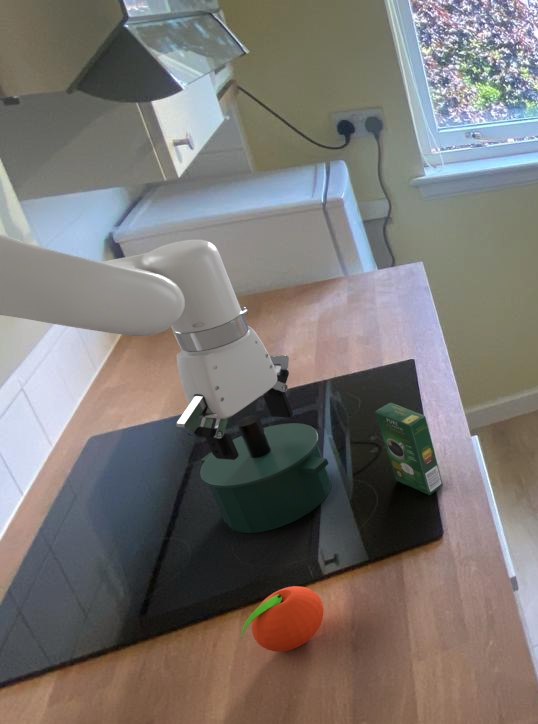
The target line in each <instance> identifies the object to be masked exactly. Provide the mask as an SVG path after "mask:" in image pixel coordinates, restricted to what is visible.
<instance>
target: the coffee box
mask: <svg viewBox="0 0 538 724" xmlns="http://www.w3.org/2000/svg"><path fill="white" fill-rule="evenodd" d="M374 414H375V417H376V420H377V423H378V426H379V430H380V433H381V436H382V439H383V442H384V446H385V449H386V452H387V456H388V459H389V462H390V466H391V468H392V472H393V475H394V479H395V481H396V482H399V483H401V484H402V485H405V486H407V487H410V488H411V489H413V490H416V491H419V492H421V493H423V494H426V495H428V496H431V495H432V494H434V493H435V492H436V491H438V490H439V489H441V488H442V487H443V486H444V484H443V480H442V476H441V472H440V468H439V464H438V460H437V455H436V452H435V448H434V444H433V439H432V437H431V433H430V432H431V431H430V429H429V425H428V421H427V417H426V415H424V414H421V413H418V412H416V411H413V410H411V409H408V408H405V407H403V406H400V405H398V404H395V403H393V402H389V403H387V404H385V405H383V406H381V407H380V408H378V409H377V410H375V412H374Z"/></svg>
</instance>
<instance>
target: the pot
mask: <svg viewBox="0 0 538 724" xmlns="http://www.w3.org/2000/svg"><path fill="white" fill-rule="evenodd" d="M211 454H212V451H211V452H209V453H207V454H206V455H205V456H204V457H202V458H201V459H200V462H201V464H202V465H203V463H204V462H205V461H206V459H207V458H208V457H209V456H210V455H211ZM328 465H329V460H328V458H325V457H324V458H323V454H322V452H321V450H320V446H319V443H318V444H317V446H316V448H315V449H314V451H313V452H312V453H311V454H310V455H309V456H308V457H307V458H306V459H304V460H303V461H302V462H300V463H299V464H297V465H296V466H294V467H293V468H291V469H289V470H288V471H286V472H284V473H282V474H280V475H277V476H275V477H273V478H270V479H268V480H265V481H262V482H259V483H255V484H251V485H247V486H242V487H235V488H217V487H213V486H209V485H208V488H209V489H210V491H211V494H212V497H213V498H214V500H215V503H216V505H217V507H218V510H219V511H220V513H221V516H222V518H223V520H224V523H225V524H226V525H227V526H228V527H229V528H230V530H232V531H235V532H237V533H242V534H257V533H263V532H267V531H272V530H275V529H276V530H277V529H279V528H282V527H285V526H287V525H290V524H291V523H293V522H296V521H298V520H299V519H302V518H303V517H306V515H309V513H311V512H312V511H314V510H315V509H316V508H317V507H319V506H320V505H321V504H323V502H324V501H325V500H326V498H327V497H328V495H329V494H330V492H331V489H332V481H331V479H330V475H329V472H328V469H327V466H328Z"/></svg>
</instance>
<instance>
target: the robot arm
mask: <svg viewBox="0 0 538 724" xmlns="http://www.w3.org/2000/svg"><path fill="white" fill-rule="evenodd" d="M246 315H248V309H247V308H246V307H245V306H243V305H242V306H241V305H240V303H239V300H238V298H237V296H236V293H235V291H234V288H233V285H232V283H231V280H230V277H229V275H228V273H227V269H226V267H225V264H224V262H223V258H222V256H221V254H220V252H219V250H218V248H217V247H216V245H214V243H212V242H210V241H208V240H204V239H186V240H179V241H175V242H171V243H167V244H163V245H161V246H159V247H156V248H155V249H152V250H151V251H149V252H144V253H140V254H135V255H130V256H124V257H119V258H113V259H108V260H103V261H100V260H99V261H98V260H95V259H90V258H86V257H82V256H79V255H73V254H70V253H65V252H62V251H58V250H55V249H50V248H47V247H43V246H41V245H40V246H39V245H37V244H33V243H30V242H28V241H27V242H26V241H24V240H21V239H18V238H15V237H12V236H9V235H7V234H3V233H0V316H4V317H12V318H18V319H24V320H29V321H35V322H41V323H46V324H52V325H57V326H64V327H71V328H76V329H83V330H89V331H94V332H95V331H96V332H102V333H108V334H115V335H122V336H128V337H129V336H130V337H148V336H153V335H157V334H159V333H163V332H165V331H166V330H168V329H170V328H171V329H172V332H173V335H174V336H175V339H176V341H177V344H178V346H179V348H180V350H181V351H179V352H178V353H177V354H176V365H177V372H178V377H179V380H180V384H181V387H182V390H183V394H184V396H185V399H186V402H187V404H188V406H187V407H186V409H185V410H184V412H183V413H182V414H181V416H180V417H179V418H178V420H177V421H176V424H175V425H176V428H178V429H179V430H181V431H182V432H184V433H187V435H188V436H190V437H191V436H192V437H195V438H196V437H197V438H200V439H201V438H202V439H205V440H206V442H207V445H208V446H209V449H210V451H211V452H212V453H213V455H214V456H215V457H216V458H218V459H229V460H235V459H236V458H238V455H239V454H238V452H237V449H236V447H235V445H234V442H233V440H234V439H233V438H232V435H231V434H230V433H226V428H227V425H228V421H229V418H231V417H233V416H234V415H235V414H238V413H239V412H240V411H242V410H243V409H244V408H246V407H247V406H249V405H250V404H251V403H253V402H254V401H256V400H257V399H259V398H260V397H262V396H263V399H264V401H265V404H266V406H267V410H268V411H269V414H270V416H271V417H273V418H288V419H289V418H291V417H293V415H294V413H293V410H292V407H291V405H290V403H289V400H288V397H287V394H286V392H287V391H288V384H287V381H288V378H289V375H290V372H289V370H288V369H289V361H290V360H289V359H290V357H289V355H287V354H273V355H270V354H269V352H268V350H267V349H266V347H265V345H264V342H262V340H261V338H260V336H259V335H258V334H257V332H256V331H255V330H254V329H253V327H252V326H249V325H248V322H247V320H246V317H245V316H246ZM200 418H201V421H200V424H199V423H198V419H200ZM214 420H215V424H214V428H212V426H213V423H214Z"/></svg>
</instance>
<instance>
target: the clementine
mask: <svg viewBox="0 0 538 724" xmlns="http://www.w3.org/2000/svg"><path fill="white" fill-rule="evenodd" d="M324 611H325V610H324V603H323V601H322V599H321V597H320V596H319V594H318V593H316V592H315V591H314V590H312V589H310V588H309V587H304V586H299V585H298V586H297V585H293V586H288V587H287V586H286V587H284V588H281V589H278V590H277V591H274V592H273V593H271V594H270V595H268V596H267V597H266V598H264V600H262V602H260V604H259V605H258V606H257V608H256V609H254V610H253V612H252V613H251V614H250V615H249V617H247V619H246V621H245V622H244V625H243V627H242V628H241V633H240V639H243V635H244V632H245V630H246V628H247V627H248V626H249V625H250V624H251V632H252V636H253V639H254V640H255V641H256V643H257V644H258V645H259V646H260V647H262V648H264V649H265V650H267V651H271V652H287V651H292V650H294V649H296V648H299V647H301V646H302V645H304V644H306V643H307V642H309V640H310V639H312V638H313V637H314V635H316V632H318V630H319V628H320V626H321V625H322V622H323V618H324V613H325V612H324Z"/></svg>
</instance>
